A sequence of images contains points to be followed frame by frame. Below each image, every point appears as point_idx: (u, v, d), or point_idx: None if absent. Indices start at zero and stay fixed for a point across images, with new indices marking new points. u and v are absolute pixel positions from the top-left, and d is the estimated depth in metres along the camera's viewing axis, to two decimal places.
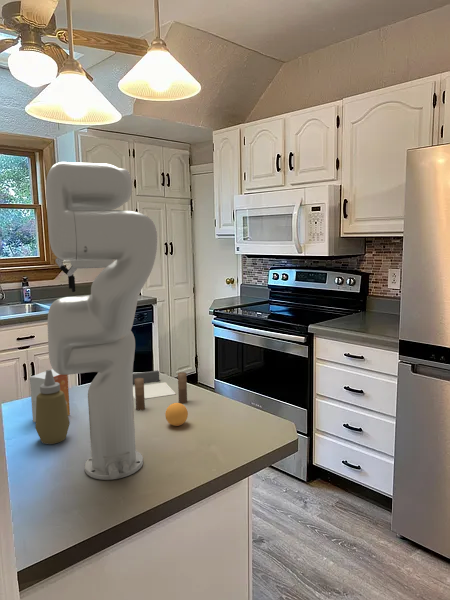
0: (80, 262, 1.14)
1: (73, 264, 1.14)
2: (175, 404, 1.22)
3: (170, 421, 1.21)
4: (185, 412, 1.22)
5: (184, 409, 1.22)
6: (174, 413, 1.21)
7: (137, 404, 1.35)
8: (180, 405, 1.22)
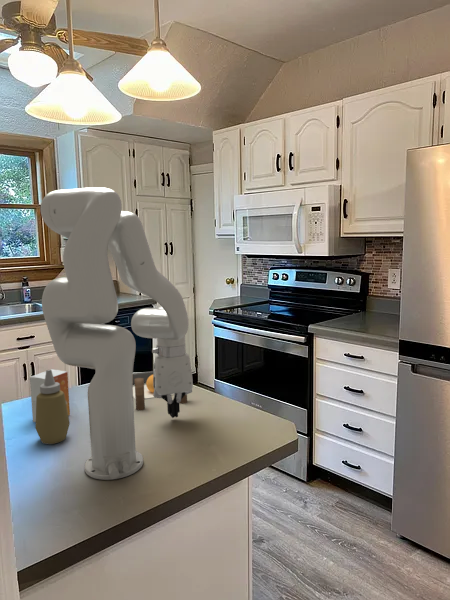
0: (164, 389, 1.21)
1: (158, 392, 1.21)
2: None
3: None
4: None
5: None
6: None
7: (137, 404, 1.35)
8: None
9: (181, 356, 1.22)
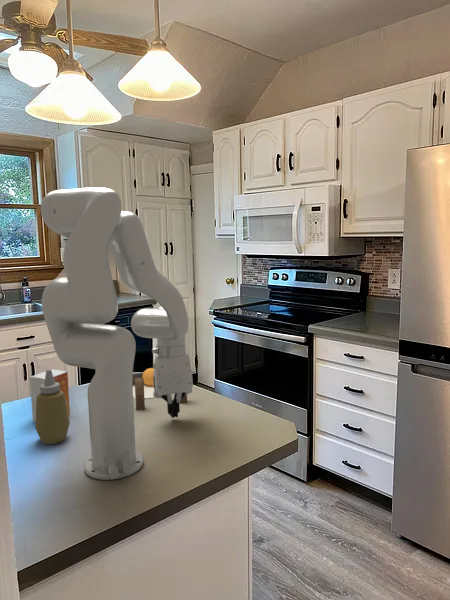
0: (164, 389, 1.21)
1: (158, 392, 1.21)
2: (151, 374, 1.54)
3: (145, 383, 1.56)
4: None
5: None
6: (149, 382, 1.54)
7: (137, 404, 1.35)
8: None
9: (181, 356, 1.22)
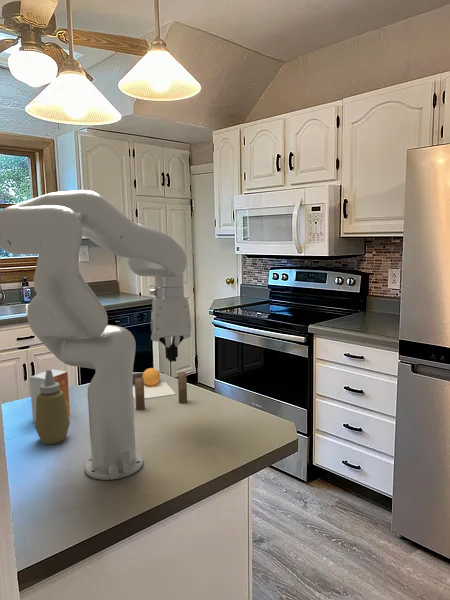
0: (162, 331, 1.19)
1: (156, 334, 1.19)
2: (151, 374, 1.54)
3: (145, 383, 1.56)
4: (158, 380, 1.56)
5: (157, 378, 1.55)
6: (149, 382, 1.54)
7: (137, 404, 1.35)
8: (155, 375, 1.54)
9: (179, 297, 1.19)
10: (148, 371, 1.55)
